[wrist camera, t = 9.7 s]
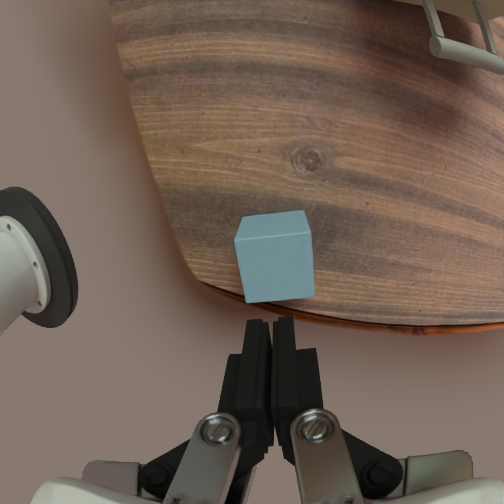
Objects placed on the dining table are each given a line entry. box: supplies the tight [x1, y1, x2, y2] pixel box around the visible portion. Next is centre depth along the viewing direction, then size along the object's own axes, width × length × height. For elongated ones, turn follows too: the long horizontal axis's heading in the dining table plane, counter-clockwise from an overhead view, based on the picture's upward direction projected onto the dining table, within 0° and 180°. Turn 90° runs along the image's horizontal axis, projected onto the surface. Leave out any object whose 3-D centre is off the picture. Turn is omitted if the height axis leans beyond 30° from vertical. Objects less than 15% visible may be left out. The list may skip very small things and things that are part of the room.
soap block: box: [234, 210, 315, 303], centre depth 18 cm, size 4×4×4 cm
